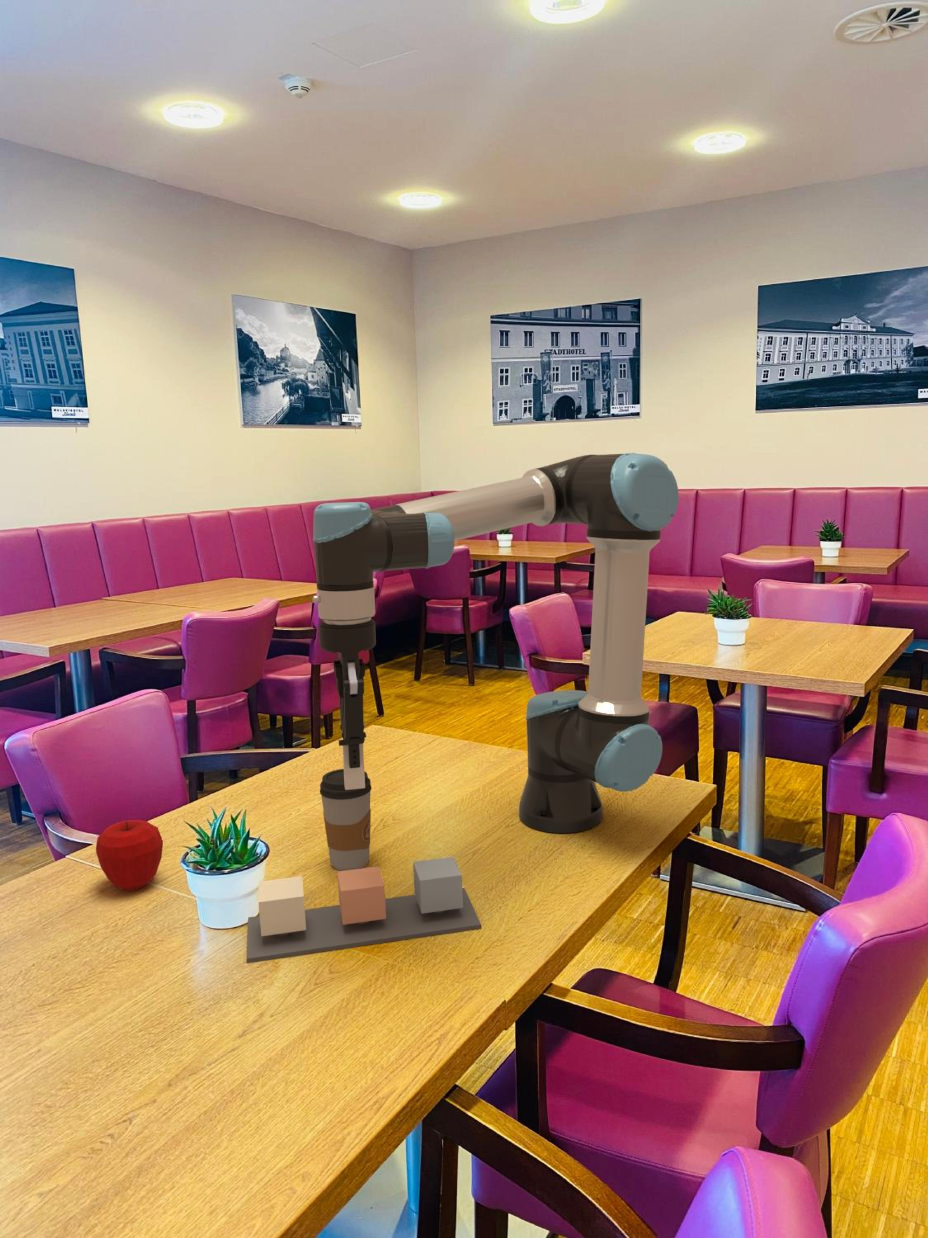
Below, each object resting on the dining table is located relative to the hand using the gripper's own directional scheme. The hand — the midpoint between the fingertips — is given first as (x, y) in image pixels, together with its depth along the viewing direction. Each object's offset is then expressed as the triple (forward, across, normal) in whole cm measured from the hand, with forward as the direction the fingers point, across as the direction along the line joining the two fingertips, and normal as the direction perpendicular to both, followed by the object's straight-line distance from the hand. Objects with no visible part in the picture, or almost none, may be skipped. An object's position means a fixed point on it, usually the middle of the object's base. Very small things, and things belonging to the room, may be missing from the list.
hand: (354, 787), depth 122 cm
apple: (+21, -22, -34) cm, 45 cm away
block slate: (+19, 0, +11) cm, 22 cm away
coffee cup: (+21, -20, 0) cm, 29 cm away
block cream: (+19, 0, -11) cm, 22 cm away
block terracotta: (+19, 0, 0) cm, 19 cm away
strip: (+21, 0, 0) cm, 21 cm away
